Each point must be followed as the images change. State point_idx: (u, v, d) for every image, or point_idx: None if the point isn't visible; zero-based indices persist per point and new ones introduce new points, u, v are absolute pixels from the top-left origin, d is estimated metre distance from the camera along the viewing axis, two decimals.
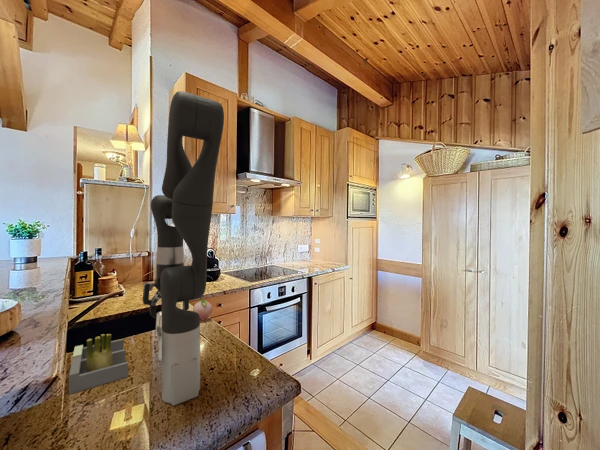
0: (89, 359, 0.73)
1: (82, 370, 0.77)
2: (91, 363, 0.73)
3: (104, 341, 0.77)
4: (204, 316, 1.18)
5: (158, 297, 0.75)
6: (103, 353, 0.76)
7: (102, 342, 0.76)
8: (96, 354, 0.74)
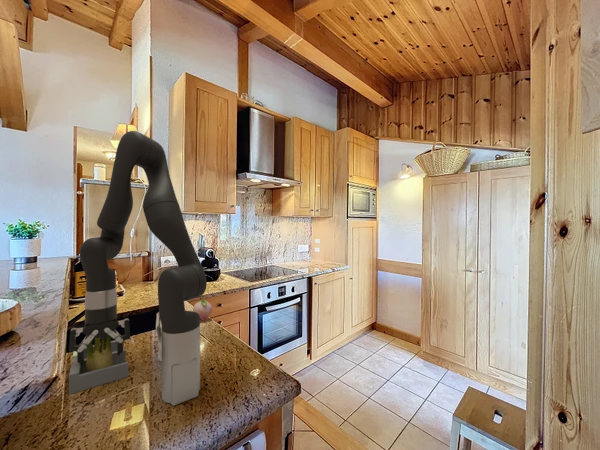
0: (89, 359, 0.73)
1: (82, 370, 0.77)
2: (91, 363, 0.73)
3: (104, 341, 0.77)
4: (204, 316, 1.18)
5: (85, 343, 0.73)
6: (103, 352, 0.76)
7: (102, 342, 0.76)
8: (96, 354, 0.74)
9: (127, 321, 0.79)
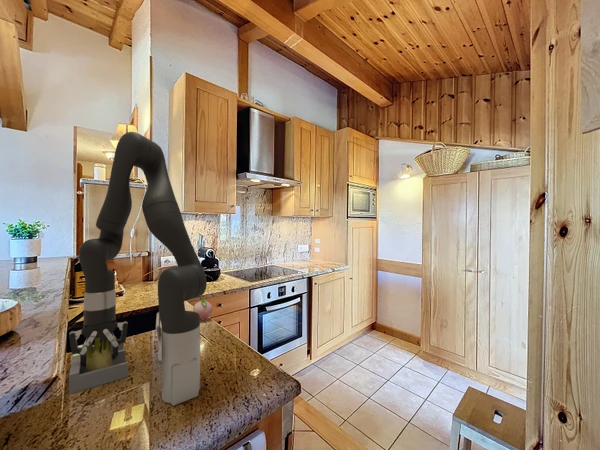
0: (89, 359, 0.73)
1: (82, 370, 0.77)
2: (91, 363, 0.73)
3: (104, 341, 0.77)
4: (204, 316, 1.18)
5: (87, 345, 0.73)
6: (103, 353, 0.76)
7: (102, 342, 0.76)
8: (96, 354, 0.74)
9: (126, 324, 0.79)
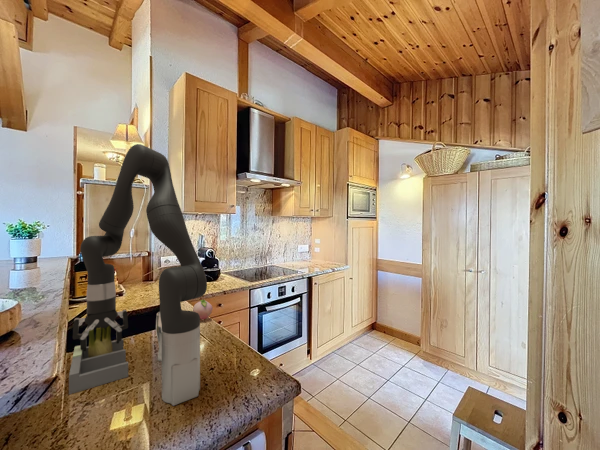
0: (91, 347, 0.81)
1: (82, 370, 0.77)
2: (93, 351, 0.81)
3: (105, 331, 0.84)
4: (204, 316, 1.18)
5: (88, 331, 0.81)
6: (103, 341, 0.83)
7: (103, 332, 0.83)
8: (97, 343, 0.82)
9: (125, 312, 0.87)
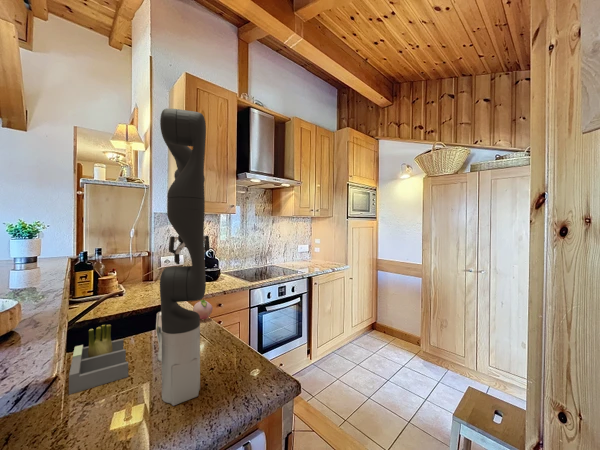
0: (91, 347, 0.81)
1: (82, 370, 0.77)
2: (93, 351, 0.81)
3: (105, 331, 0.84)
4: (204, 316, 1.18)
5: (181, 247, 0.95)
6: (103, 341, 0.83)
7: (102, 332, 0.83)
8: (97, 343, 0.82)
9: (207, 236, 1.01)
